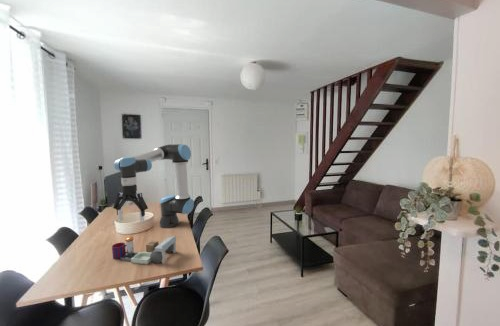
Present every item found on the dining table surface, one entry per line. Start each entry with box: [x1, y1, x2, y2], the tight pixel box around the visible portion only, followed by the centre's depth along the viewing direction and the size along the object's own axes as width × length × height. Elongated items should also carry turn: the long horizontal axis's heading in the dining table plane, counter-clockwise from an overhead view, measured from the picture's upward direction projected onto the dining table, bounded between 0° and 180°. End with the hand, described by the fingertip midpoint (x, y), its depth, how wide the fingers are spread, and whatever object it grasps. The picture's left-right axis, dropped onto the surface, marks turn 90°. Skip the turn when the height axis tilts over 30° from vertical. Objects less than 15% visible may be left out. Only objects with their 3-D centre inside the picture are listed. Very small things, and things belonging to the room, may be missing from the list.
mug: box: [111, 242, 127, 260], centre depth 135 cm, size 7×10×7 cm
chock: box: [145, 240, 160, 253], centre depth 141 cm, size 6×4×5 cm
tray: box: [130, 251, 152, 265], centre depth 130 cm, size 8×10×2 cm
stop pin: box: [125, 236, 135, 258], centre depth 133 cm, size 4×4×12 cm
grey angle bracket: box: [150, 234, 177, 264], centre depth 133 cm, size 14×8×10 cm, turn 169°
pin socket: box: [120, 251, 139, 262], centre depth 133 cm, size 7×7×2 cm
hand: (131, 221), depth 131 cm, fingers open, 13 cm apart
